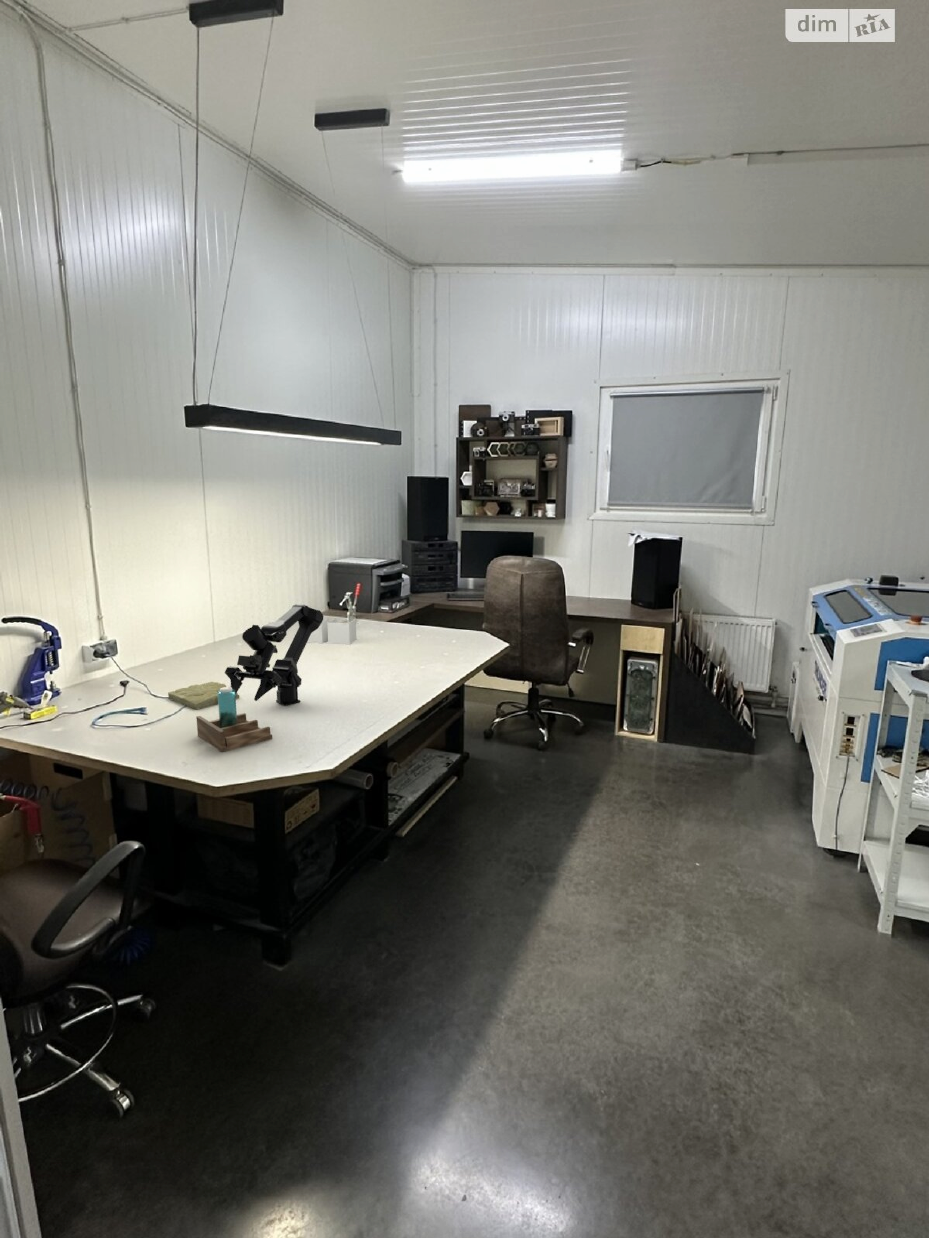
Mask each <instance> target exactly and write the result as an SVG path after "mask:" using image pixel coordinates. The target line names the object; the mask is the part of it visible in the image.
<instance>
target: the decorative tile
mask: <svg viewBox="0 0 929 1238" xmlns="http://www.w3.org/2000/svg"><path fill="white" fill-rule="evenodd" d="M223 687H227V685H226V684H225V683H221V682H216V681H209V682H205V683H202V684H192V685H190V686H187V687H181V688H178V689H175V690H173V691H168V693H167V694H168V695H167V696H168V699H169V700H172V701H174V702H176V703H179V704H181V705H184V706H187V707H189V708H191V709H193V710H200V709H205V708H209V707H212V706H215V705H218V691H220V689H221V688H223ZM235 696H236V700H237V699H239V698H240V694H239V693H238V692H237V693H236V694H235Z"/></svg>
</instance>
